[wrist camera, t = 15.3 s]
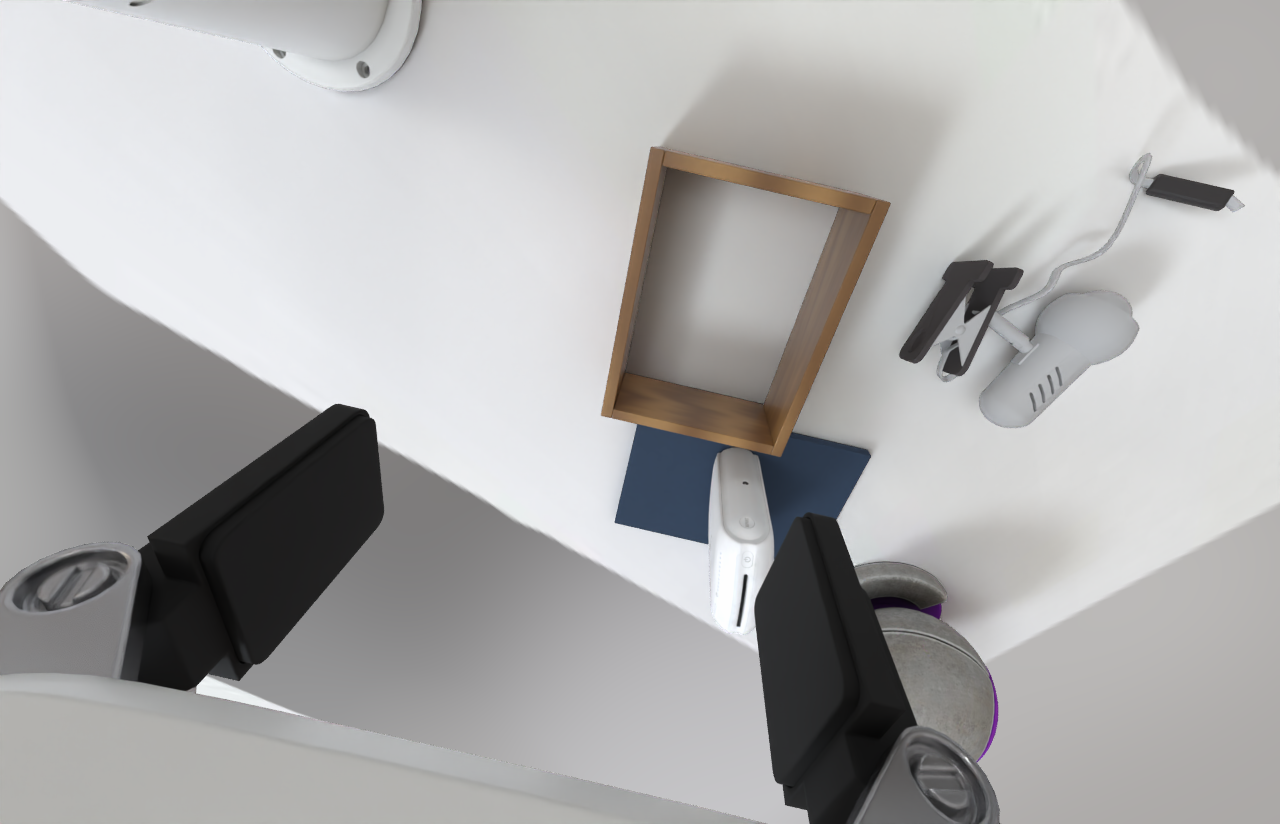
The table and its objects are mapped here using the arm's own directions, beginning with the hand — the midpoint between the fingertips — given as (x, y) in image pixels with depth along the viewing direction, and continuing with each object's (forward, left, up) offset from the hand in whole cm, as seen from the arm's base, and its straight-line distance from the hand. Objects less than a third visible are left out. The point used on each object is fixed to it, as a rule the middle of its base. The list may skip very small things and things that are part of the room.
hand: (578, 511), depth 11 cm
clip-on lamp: (+26, +4, -28) cm, 39 cm away
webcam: (+30, -30, -28) cm, 51 cm away
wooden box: (+5, -2, -28) cm, 29 cm away
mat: (+11, -19, -28) cm, 36 cm away
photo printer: (+11, -19, -28) cm, 35 cm away
